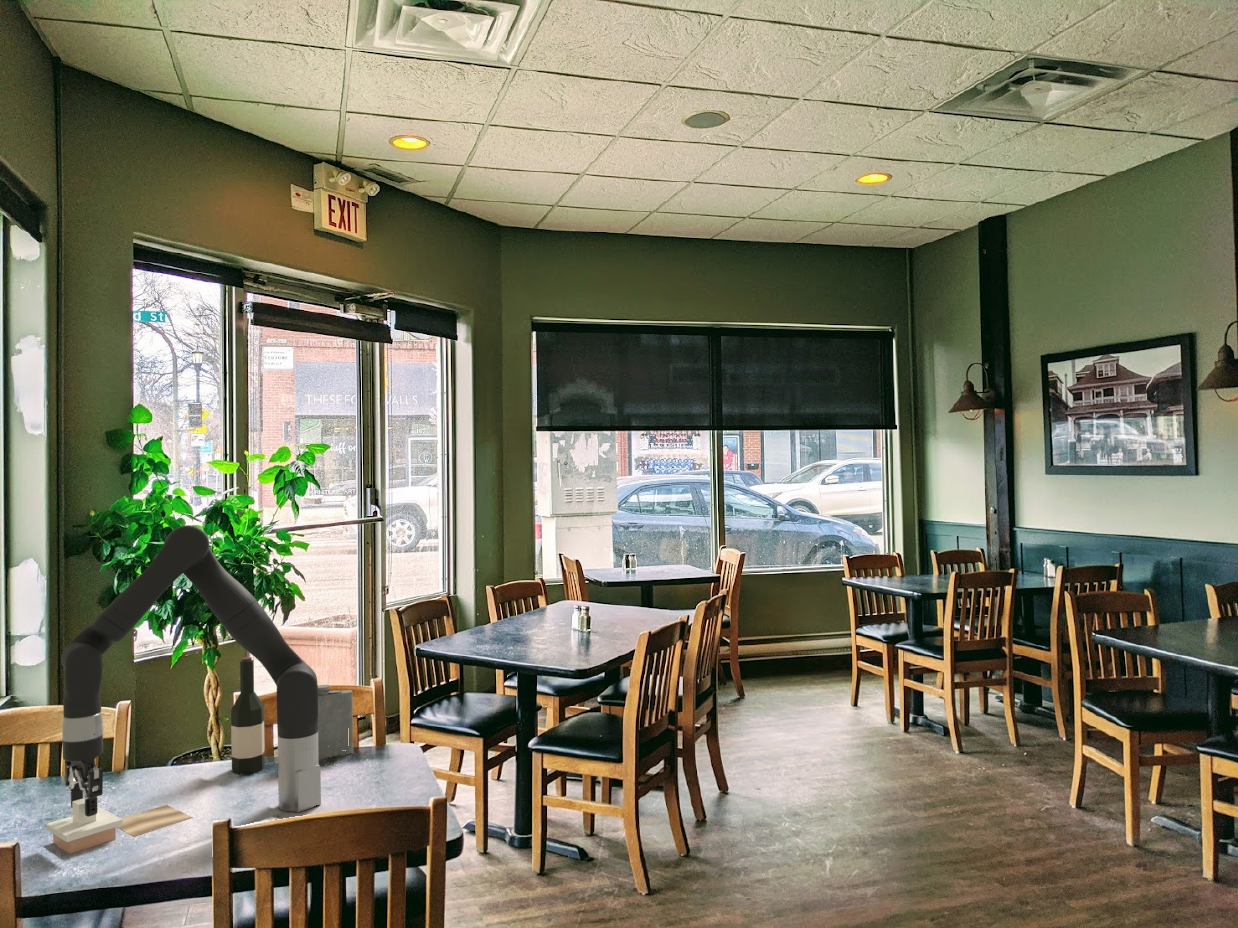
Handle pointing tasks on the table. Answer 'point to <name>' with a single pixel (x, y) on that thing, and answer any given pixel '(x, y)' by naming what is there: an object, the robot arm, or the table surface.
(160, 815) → the mat
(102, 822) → the lid
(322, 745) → the hip flask
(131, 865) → the table surface
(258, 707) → the wine bottle
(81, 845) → the dish
